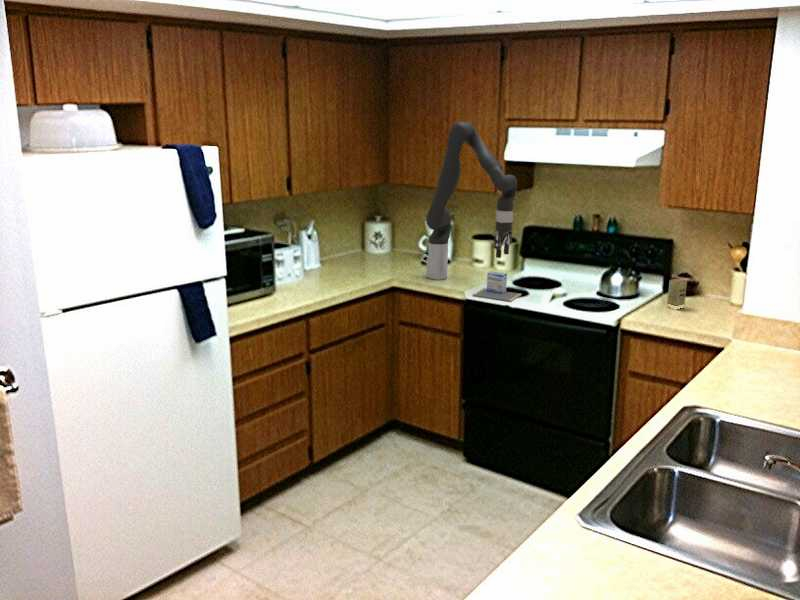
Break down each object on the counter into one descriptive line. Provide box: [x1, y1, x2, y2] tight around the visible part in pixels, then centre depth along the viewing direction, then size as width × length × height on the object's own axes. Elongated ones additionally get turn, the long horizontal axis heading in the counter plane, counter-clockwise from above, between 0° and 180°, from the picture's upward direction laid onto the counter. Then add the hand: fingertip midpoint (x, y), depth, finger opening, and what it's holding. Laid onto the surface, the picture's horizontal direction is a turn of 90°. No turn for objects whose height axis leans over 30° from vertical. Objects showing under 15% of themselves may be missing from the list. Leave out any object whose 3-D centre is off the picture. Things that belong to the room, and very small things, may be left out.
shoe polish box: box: [666, 278, 688, 306], centre depth 318 cm, size 5×5×12 cm
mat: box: [472, 287, 522, 303], centre depth 335 cm, size 18×13×1 cm
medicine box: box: [486, 271, 508, 294], centre depth 338 cm, size 8×4×9 cm, turn 62°
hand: (502, 255), depth 340 cm, fingers open, 8 cm apart
